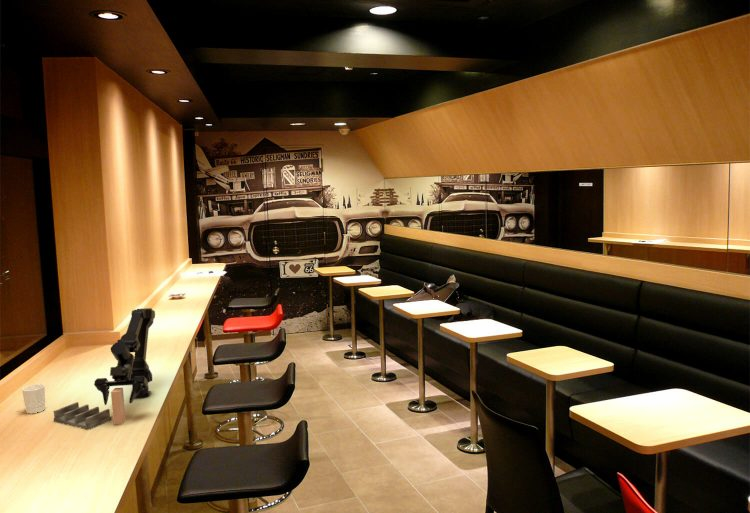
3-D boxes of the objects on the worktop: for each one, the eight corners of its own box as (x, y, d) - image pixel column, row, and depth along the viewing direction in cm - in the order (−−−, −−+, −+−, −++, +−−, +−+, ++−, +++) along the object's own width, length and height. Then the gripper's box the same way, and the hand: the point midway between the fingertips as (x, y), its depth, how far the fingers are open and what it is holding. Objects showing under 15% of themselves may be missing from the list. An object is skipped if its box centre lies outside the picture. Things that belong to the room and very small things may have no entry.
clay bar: (117, 420, 235) (114, 388, 233) (125, 419, 235) (122, 387, 233) (113, 425, 230) (110, 392, 228) (122, 424, 230) (119, 391, 229)
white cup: (22, 415, 242) (19, 391, 241) (27, 408, 249) (25, 385, 248) (44, 413, 244) (41, 389, 243) (49, 406, 252) (46, 383, 250)
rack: (76, 411, 244) (75, 402, 244) (111, 419, 235) (110, 409, 235) (53, 421, 235) (52, 410, 235) (88, 429, 226) (87, 419, 226)
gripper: (93, 358, 233) (85, 396, 224) (143, 355, 235) (137, 393, 225) (102, 371, 242) (95, 408, 233) (150, 369, 244) (145, 405, 234)
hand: (117, 403), depth 231 cm, fingers open, 9 cm apart
